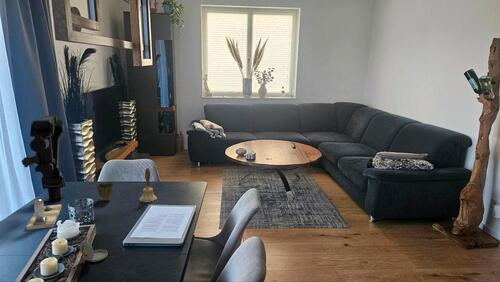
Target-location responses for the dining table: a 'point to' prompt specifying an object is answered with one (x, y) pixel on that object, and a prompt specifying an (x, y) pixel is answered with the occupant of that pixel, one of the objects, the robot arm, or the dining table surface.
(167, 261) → the dining table surface
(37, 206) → the grey copper topped cylinder
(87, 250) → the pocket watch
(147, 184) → the hand bell
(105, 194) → the cup
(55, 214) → the pitch plate
